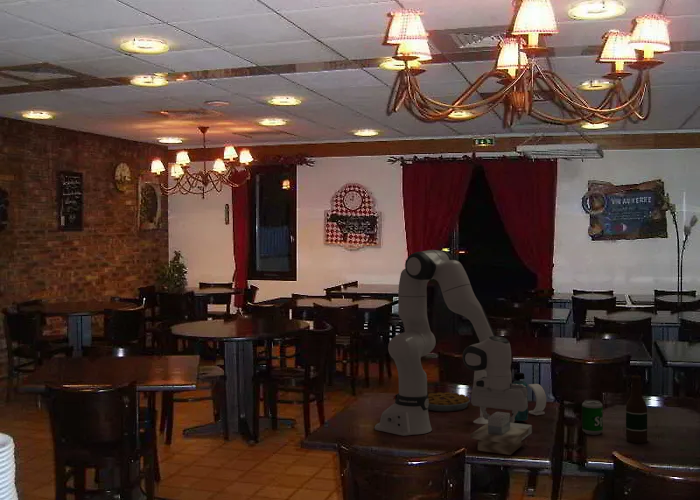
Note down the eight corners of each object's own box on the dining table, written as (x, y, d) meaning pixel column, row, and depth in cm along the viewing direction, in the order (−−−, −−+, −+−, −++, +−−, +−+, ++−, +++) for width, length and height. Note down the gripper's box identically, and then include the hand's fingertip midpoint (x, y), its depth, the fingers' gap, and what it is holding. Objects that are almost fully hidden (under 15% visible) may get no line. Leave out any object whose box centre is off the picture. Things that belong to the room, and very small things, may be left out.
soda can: (589, 436, 296) (589, 404, 296) (578, 431, 303) (578, 400, 303) (606, 434, 298) (606, 403, 298) (595, 429, 305) (595, 398, 305)
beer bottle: (629, 436, 295) (629, 372, 294) (650, 440, 290) (650, 375, 289) (622, 441, 289) (621, 376, 288) (643, 444, 284) (643, 378, 283)
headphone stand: (537, 411, 335) (537, 383, 335) (546, 414, 330) (546, 386, 329) (528, 412, 333) (528, 384, 333) (537, 416, 328) (537, 387, 327)
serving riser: (470, 451, 279) (470, 434, 279) (486, 439, 293) (486, 423, 293) (514, 457, 271) (513, 439, 271) (528, 445, 285) (528, 429, 285)
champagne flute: (470, 422, 318) (470, 363, 317) (476, 419, 324) (475, 361, 323) (487, 424, 315) (486, 364, 314) (492, 420, 321) (491, 362, 320)
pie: (410, 404, 352) (410, 393, 352) (452, 399, 362) (452, 388, 362) (436, 415, 333) (436, 403, 333) (479, 409, 342) (479, 397, 342)
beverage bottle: (528, 424, 314) (528, 374, 313) (511, 424, 315) (511, 374, 314) (528, 420, 320) (527, 371, 319) (511, 420, 322) (511, 371, 321)
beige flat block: (486, 435, 299) (485, 428, 298) (496, 428, 309) (496, 420, 309) (522, 440, 292) (521, 432, 291) (531, 432, 302) (531, 425, 302)
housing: (496, 427, 287) (496, 411, 287) (510, 429, 285) (510, 413, 285) (488, 433, 280) (488, 416, 279) (501, 435, 277) (501, 418, 277)
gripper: (530, 383, 279) (530, 422, 280) (475, 378, 289) (475, 415, 290) (524, 386, 274) (524, 426, 274) (469, 381, 284) (469, 419, 284)
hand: (499, 420), depth 282 cm, fingers open, 8 cm apart
